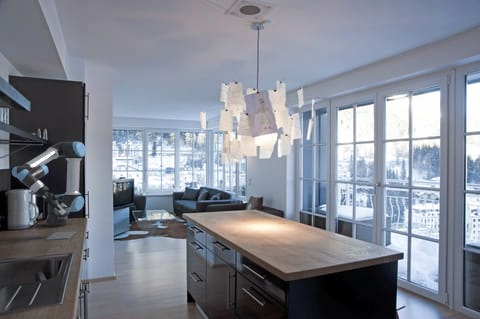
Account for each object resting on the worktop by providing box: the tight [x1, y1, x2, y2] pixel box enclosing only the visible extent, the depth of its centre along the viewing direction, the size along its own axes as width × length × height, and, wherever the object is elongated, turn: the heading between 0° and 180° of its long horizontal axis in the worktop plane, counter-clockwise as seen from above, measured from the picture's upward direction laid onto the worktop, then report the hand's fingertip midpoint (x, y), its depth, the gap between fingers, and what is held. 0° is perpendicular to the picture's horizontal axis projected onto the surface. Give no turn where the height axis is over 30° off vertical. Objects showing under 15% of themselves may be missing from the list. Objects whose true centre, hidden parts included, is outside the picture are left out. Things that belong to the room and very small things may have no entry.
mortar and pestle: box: [54, 200, 72, 219], centre depth 220 cm, size 11×9×12 cm
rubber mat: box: [45, 231, 76, 241], centre depth 219 cm, size 20×13×1 cm, turn 15°
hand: (66, 212), depth 220 cm, fingers closed on mortar and pestle, 10 cm apart
